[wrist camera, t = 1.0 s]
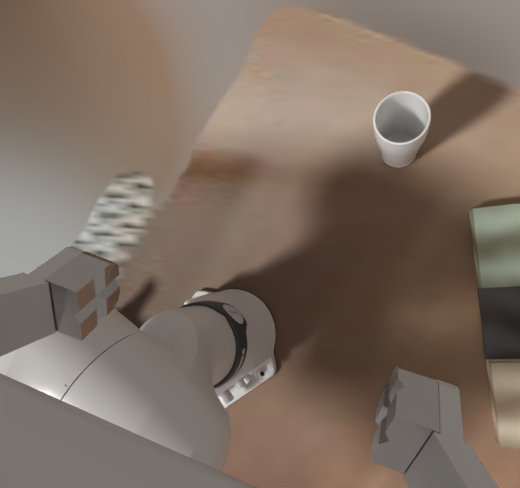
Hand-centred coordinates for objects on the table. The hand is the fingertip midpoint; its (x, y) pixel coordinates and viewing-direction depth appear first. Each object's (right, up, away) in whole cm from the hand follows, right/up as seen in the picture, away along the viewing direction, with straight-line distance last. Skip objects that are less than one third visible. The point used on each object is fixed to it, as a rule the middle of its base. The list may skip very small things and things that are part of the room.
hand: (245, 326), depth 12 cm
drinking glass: (+22, +16, +53) cm, 60 cm away
